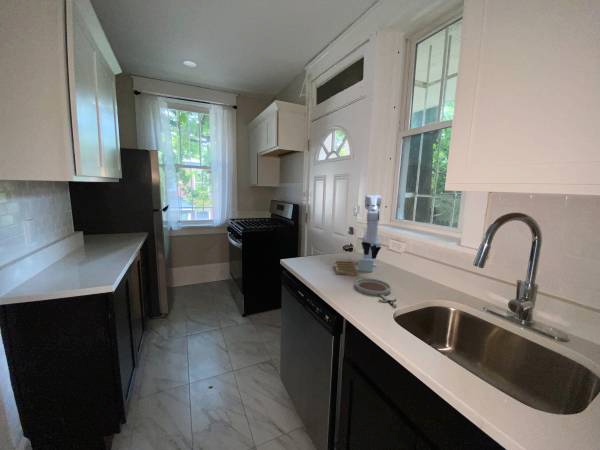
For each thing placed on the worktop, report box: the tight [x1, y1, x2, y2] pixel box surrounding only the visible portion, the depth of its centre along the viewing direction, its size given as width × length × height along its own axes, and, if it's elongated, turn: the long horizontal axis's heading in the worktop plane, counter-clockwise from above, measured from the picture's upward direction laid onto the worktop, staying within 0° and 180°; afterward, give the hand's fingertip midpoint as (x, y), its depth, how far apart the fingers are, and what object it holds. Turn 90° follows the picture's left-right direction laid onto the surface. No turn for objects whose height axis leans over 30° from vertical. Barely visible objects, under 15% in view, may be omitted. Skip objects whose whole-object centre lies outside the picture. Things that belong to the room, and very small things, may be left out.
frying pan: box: [354, 277, 397, 309], centre depth 116 cm, size 17×3×28 cm
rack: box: [334, 260, 358, 276], centre depth 146 cm, size 14×11×4 cm
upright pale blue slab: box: [357, 258, 374, 273], centre depth 146 cm, size 2×8×7 cm, turn 87°
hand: (370, 256), depth 141 cm, fingers open, 7 cm apart
